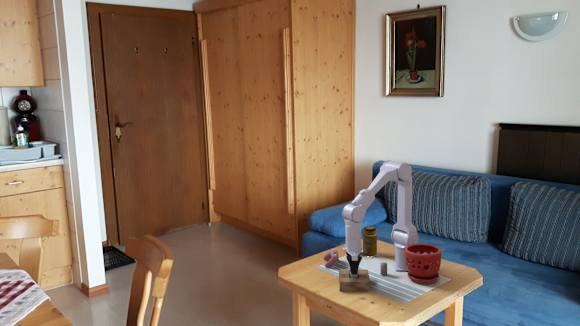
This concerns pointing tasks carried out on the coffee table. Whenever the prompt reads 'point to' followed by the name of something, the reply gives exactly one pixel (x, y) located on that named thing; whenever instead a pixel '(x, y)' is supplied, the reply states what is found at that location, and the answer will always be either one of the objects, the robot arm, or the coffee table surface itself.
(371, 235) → the condiment
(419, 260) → the plant pot
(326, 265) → the pink curved piece
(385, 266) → the short pin
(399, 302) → the coffee table surface
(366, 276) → the hole block
